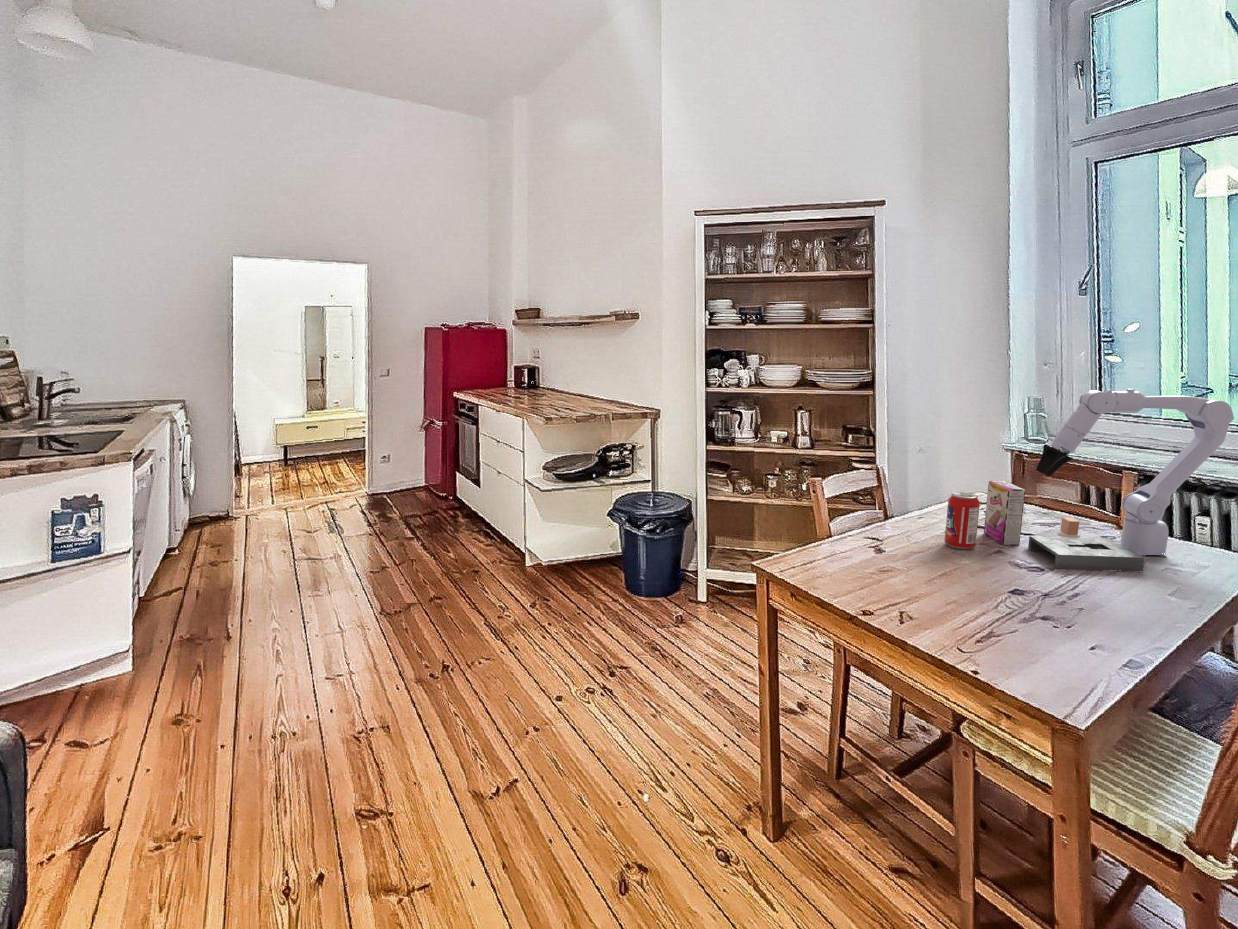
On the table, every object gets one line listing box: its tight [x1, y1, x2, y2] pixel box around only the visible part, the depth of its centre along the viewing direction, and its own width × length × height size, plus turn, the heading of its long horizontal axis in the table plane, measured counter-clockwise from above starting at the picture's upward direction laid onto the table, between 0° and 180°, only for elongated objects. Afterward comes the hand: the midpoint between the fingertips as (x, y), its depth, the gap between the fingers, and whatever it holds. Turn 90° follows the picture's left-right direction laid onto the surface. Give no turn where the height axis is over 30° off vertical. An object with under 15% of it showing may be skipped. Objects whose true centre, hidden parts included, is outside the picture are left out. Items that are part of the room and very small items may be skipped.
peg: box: [1056, 516, 1081, 537], centre depth 189 cm, size 5×5×7 cm
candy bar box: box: [983, 480, 1026, 546], centre depth 193 cm, size 11×5×16 cm, turn 179°
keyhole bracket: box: [1027, 535, 1146, 572], centre depth 176 cm, size 20×16×4 cm
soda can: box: [943, 491, 981, 551], centre depth 187 cm, size 8×8×15 cm
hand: (1042, 473), depth 186 cm, fingers open, 7 cm apart
